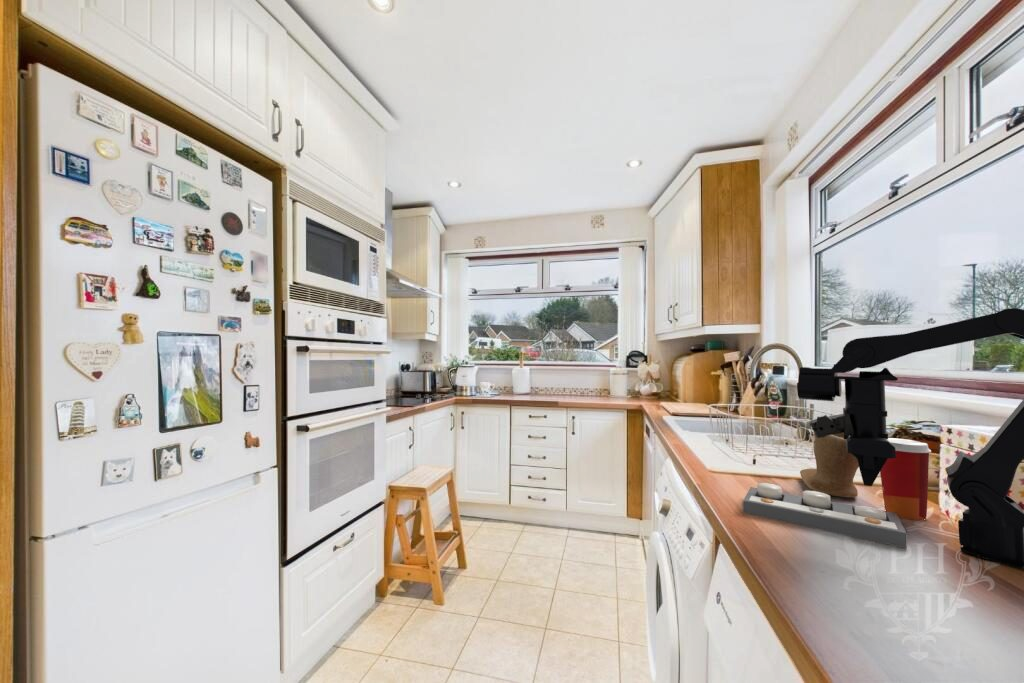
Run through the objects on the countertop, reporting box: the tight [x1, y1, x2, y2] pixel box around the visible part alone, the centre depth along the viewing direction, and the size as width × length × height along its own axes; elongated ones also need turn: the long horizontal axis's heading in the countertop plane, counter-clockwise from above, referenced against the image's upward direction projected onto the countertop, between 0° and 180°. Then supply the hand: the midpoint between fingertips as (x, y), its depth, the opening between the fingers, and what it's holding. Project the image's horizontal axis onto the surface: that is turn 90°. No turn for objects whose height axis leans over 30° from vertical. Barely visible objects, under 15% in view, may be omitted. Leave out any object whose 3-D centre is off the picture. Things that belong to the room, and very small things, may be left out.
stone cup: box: [799, 433, 859, 499], centre depth 94 cm, size 15×12×15 cm
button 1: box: [756, 482, 783, 499], centre depth 83 cm, size 4×4×2 cm
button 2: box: [854, 505, 886, 521], centre depth 73 cm, size 4×4×2 cm
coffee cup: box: [879, 437, 932, 521], centre depth 80 cm, size 8×8×15 cm
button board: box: [742, 486, 908, 549], centre depth 77 cm, size 24×11×3 cm, turn 51°
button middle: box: [802, 490, 831, 509], centre depth 78 cm, size 4×4×2 cm
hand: (867, 485), depth 74 cm, fingers closed
